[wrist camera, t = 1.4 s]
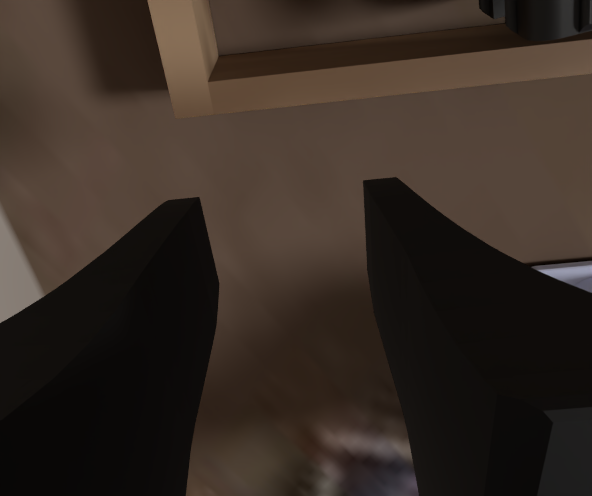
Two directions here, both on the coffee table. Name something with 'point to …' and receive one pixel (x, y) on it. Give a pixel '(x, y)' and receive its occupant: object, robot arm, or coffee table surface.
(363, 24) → the coffee table surface
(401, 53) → the cubby
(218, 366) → the coffee table surface
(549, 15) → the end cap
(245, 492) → the coffee table surface
